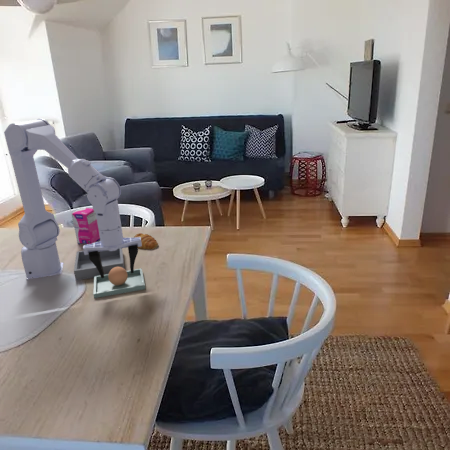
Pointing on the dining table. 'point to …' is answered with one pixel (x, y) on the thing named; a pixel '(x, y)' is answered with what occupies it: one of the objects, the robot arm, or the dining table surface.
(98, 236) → the supplement box
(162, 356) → the dining table surface
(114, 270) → the egg
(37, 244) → the robot arm
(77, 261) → the open square box
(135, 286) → the tray
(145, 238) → the pastry
